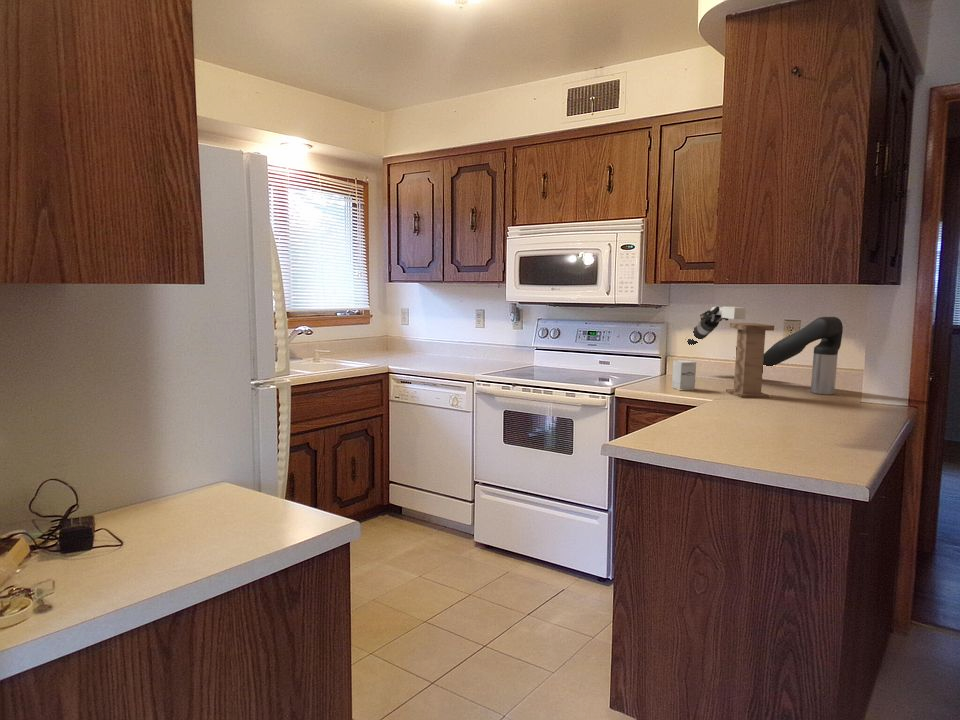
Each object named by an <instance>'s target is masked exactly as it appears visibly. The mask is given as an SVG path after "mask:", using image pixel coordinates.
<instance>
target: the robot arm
mask: <svg viewBox="0 0 960 720" xmlns="http://www.w3.org/2000/svg"><path fill="white" fill-rule="evenodd" d="M715 307H716V308H715V309H714V310H712V311H711V309H709V310H707V311H705V312H703V313H701V314H700V315H699V318H700V321H698V324H697V325H696V326H695V327H693V328H694V331H693V333H694V336H695V337H696V338H698V339H702V340H703V339H705V338H706V337H707V336H708V335H710V334H711V333H712V332H713V331H714V330H715V329H716V328H718V326H719V323H720V322H722V321H723V320H725V321H729V319H728V318H721V316H722V315H715V314H717V313H718V311H719V307H720V306H715ZM843 330H844V327H843V321H842V320H841V319H840V318H839V317H837V316H821V317H818V318H816V319H814V320H812V321H811V322H809V324H807V325H805V326H804V327H803V328H801V329H799V330H798V331H795V332H794V333H791V334H789V335H787V336H785V337H783V338H781V339H780V340H778V341H777V342H776V343H774V344H773V345H772V346H771V347H769V349H767V351H764V359H763V365H766V366H773V365H775V366H777V365H778V364H781V363H783V362H785V361H787V360H789V359H791V358H793V357H795V356H797V355H799V354H801V352H802V351H804V349H805V348H806V346H808V345H809V344H811V343H813V342H816V341H819V340H820V342H819V343H818V344H817V345H815V346H814V347H813V360H812V368H811V369H812V371H811V385H810V393H812V394H816V395H827V396H828V395H834V394H835V392H836V391H835V390H836V380H837V379H836V378H837V367H838V355H839V350H840V348H841V345H842V339H843ZM687 342H688V344H689V345H690V344H691V345H692V344H693V345H694V344H696V343H698V342H697V341H694V340H693V339H692V340H691V339H688V341H687ZM773 367H774V366H773Z"/></svg>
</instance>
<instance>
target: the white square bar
mask: <svg viewBox="0 0 960 720" xmlns="http://www.w3.org/2000/svg"><path fill="white" fill-rule="evenodd" d="M716 307H717V306H712V307H711V308H710V311H712V310H714V309H715V308H716ZM718 307H719V311H718V313H717V314H715V315H722V316H721V318H728V320H729V319H730V320H746V309H747V307H740V306H727V305H726V306H722V307H721V306H718Z"/></svg>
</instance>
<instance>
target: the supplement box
mask: <svg viewBox="0 0 960 720" xmlns="http://www.w3.org/2000/svg"><path fill="white" fill-rule="evenodd" d="M672 362H673V364H672V365H673V366H672V377H671V378H672V380H671V388H672V387H674V388H677V389H695V388H696V387H695V386H696V370H697V362H696V361H693V360H683V359H681V360H679V359H678V360H675V359H674V360H673V361H672ZM674 388H673V389H674Z"/></svg>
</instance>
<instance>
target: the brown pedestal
mask: <svg viewBox="0 0 960 720" xmlns="http://www.w3.org/2000/svg"><path fill="white" fill-rule="evenodd" d="M729 328H730V329H734V330H735V329H737V333H736V334H737V335H736V346H735V347H736V358H735V361H734V362H735V363H734V364H735V366H734V375H733V377H734V379H733V389H730V388H729V389H725V393H727V394H730V395H732V396H735V397H737V396H738V398H740V397H741V398H740V399H769V398H770V395H769V394H767V393H766V392H765V393H764V392H762V387H763V386H762V385H763V384H762V383H763V359H764V353H765V343H766V342H765V340H766V331H775V325H771V324H765V323H757V322H754V323H753V322H730V323H729Z"/></svg>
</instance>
